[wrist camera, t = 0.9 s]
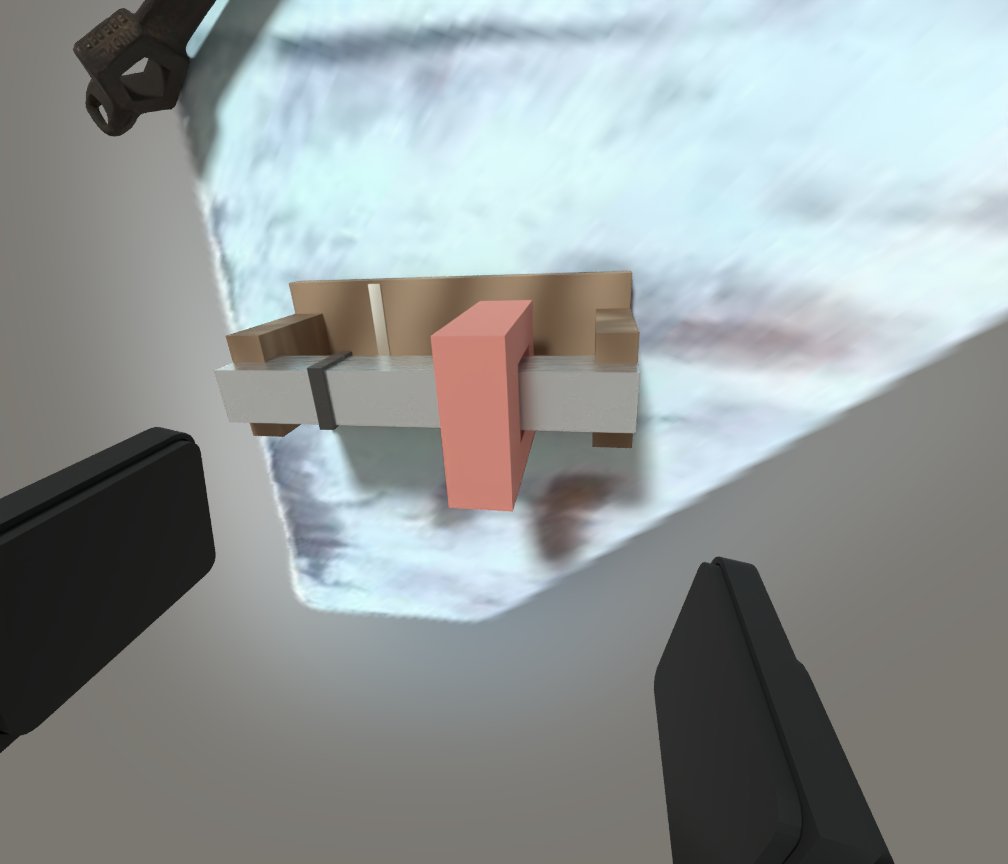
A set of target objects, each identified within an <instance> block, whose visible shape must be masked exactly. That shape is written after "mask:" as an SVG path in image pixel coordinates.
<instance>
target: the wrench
mask: <svg viewBox="0 0 1008 864" xmlns="http://www.w3.org/2000/svg"><path fill="white" fill-rule="evenodd" d="M215 1H216V0H145V1H144V2H143V4H142V5H141V6H140V8H139V9H138V11H137V12H136V13H131V12H130V11H128V10H127V9H125V8H122V9H119V10H118V11H116V12H115V13H113V14H112V15H111V16H110V17H109V18H107V19H105V20H104V21H103V22H101V23H100V24H99V25H97V26H96V27H95V28H94V29H92V30H91V31H90V32H89V33H88V34H86V35H85V36H84V37H83V38H81V39H80V40H79V41H77V42H76V43H75V45H74V48H73V51H74V53H75V55H76V56H77V57H78V59H79V60H80V62H81V63H82V64H83V66H84V68H85V69H86V70H87V72H88V74H89V75H90V77H91V78H92V79H91V81H90V83H89V85H88V88H87V91H86V108H87V111H88V113H89V114H90V116H91V118H92V119H93V121H94V122H95V123H96V124H97V126H98V127H99V128H100V129H101V130H102V131H103V132H104V133H106V134H108V135H109V136H120V135H122V134H124V133H125V132H127V131H128V130H129V129H131V128H132V126H133V125H134V123H135V122H136V120H137V118H138V117H139V116H140V115H141V114H143V113H147V112H153V111H159V110H167V109H172V108H174V107H175V105H176V102H177V100H178V97H179V93H180V89H181V85H182V82H183V80H184V77H185V74H186V71H187V68H188V65H189V63H190V61H189V57H188V56H187V53H186V46H187V43H188V41H189V40H190V38H191V37H192V35H193V34H194V32H195V31H196V29H197V28H198V26H199V25H200V23H201V22H202V20H203V19H204V17H205V16H206V14H207V12H208V11H209V10H210V9H211V7H212V6H213V4H214V3H215ZM144 57H146V58H149V59H148V62H147V65H146V67H145V69H144V72H141V73H134V74H129V75H123V76H121V75H122V74H123V73H124V72H125V71H127V70H128V69H129V68H131V67H132V66H133V65H134V64H135V63H136V62H138V61H140V60H141V59H143V58H144ZM101 104H102V105H103V107H104V109H105V111H106V113H107V116H108V124H107V123H106V122H105V120H104V118H103V117H102V115H101V113H100V111H99V106H100V105H101Z"/></svg>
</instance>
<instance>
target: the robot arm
mask: <svg viewBox="0 0 1008 864" xmlns="http://www.w3.org/2000/svg"><path fill="white" fill-rule="evenodd" d="M214 561H215V547H214V539H213V533H212V526H211V519H210V513H209V505H208V499H207V493H206V485H205V478H204V471H203V465H202V458H201V451H200V448H199V447H198V445H197V444H195V441H194V439H193V438H192V437H191V436H190V435H189V434H186V433H183V432H178V431H174V430H170V429H165V428H161V427H154V428H151V429H148V430H146V431H144V432H141V433H139V434H137V435H135V436H133V437H131V438H129V439H126V440H124V441H122V442H120V443H118V444H116V445H114V446H112V447H110V448H107V449H105V450H103V451H101V452H99V453H97V454H95V455H92V456H90V457H89V458H86V459H84V460H82V461H80V462H77V463H75V464H73V465H71V466H69V467H67V468H65V469H63V470H61V471H59V472H56V473H54V474H52V475H50V476H48V477H46V478H43V479H41V480H39V481H37V482H35V483H33V484H31V485H28V486H26V487H24V488H22V489H20V490H18V491H16V492H14V493H11V494H9V495H7V496H5V497H3V498H1V499H0V753H1V752H2V751H3V750H4V749H6V748H7V747H8V746H9V745H10V744H11V743H12V742H13V741H14V740H15V739H17V738H18V737H19V736H20V735H24V734H27V733H29V732H31V731H33V730H34V729H35V728H37V727H38V726H39V725H40V724H42V723H43V722H44V721H45V720H46V719H47V718H48V717H49V716H50V715H51V714H53V713H54V712H55V711H56V710H57V709H58V708H59V707H60V706H61V705H62V704H64V703H65V702H66V701H67V700H68V699H69V698H70V697H71V696H72V695H74V694H75V693H76V692H77V691H78V690H79V689H80V688H81V687H82V686H83V685H85V684H86V683H87V682H88V681H89V680H90V679H91V678H92V677H93V676H95V675H96V674H97V673H98V672H99V671H100V670H101V669H102V668H103V667H105V666H106V665H107V664H108V663H109V662H110V661H111V660H112V659H113V658H114V657H116V656H117V655H118V654H119V653H120V652H121V651H122V650H123V649H124V648H125V647H127V646H128V645H129V644H130V643H131V642H132V641H133V640H134V639H135V638H137V637H138V636H139V635H140V634H141V633H142V632H143V631H144V630H145V629H146V628H147V627H149V626H150V625H151V624H152V623H153V622H154V621H155V620H156V619H157V618H159V616H161V615H162V614H163V613H164V612H165V611H166V610H167V609H169V608H170V607H171V606H172V605H173V604H174V603H175V602H176V601H177V600H179V599H180V598H181V597H182V596H183V595H184V594H185V593H186V592H187V591H188V590H190V589H191V588H192V587H193V586H194V585H195V584H196V583H197V582H198V581H200V579H202V578H203V577H204V576H205V575H206V574H207V573H208V572H209V571H210V569H211V568H212V566H213V564H214ZM654 694H655V704H656V711H657V712H656V713H657V722H658V730H659V740H660V749H661V758H662V767H663V776H664V785H665V794H666V803H667V812H668V822H669V830H670V840H671V849H672V857H673V864H894V862H893V859H892V857H891V855H890V853H889V851H888V848H887V846H886V844H885V842H884V839H883V837H882V835H881V833H880V830H879V828H878V826H877V824H876V822H875V820H874V818H873V815H872V813H871V811H870V809H869V806H868V804H867V802H866V800H865V797H864V795H863V793H862V791H861V788H860V786H859V784H858V782H857V780H856V778H855V775H854V773H853V771H852V769H851V766H850V764H849V762H848V760H847V758H846V755H845V753H844V751H843V749H842V746H841V744H840V742H839V740H838V738H837V735H836V733H835V731H834V729H833V727H832V724H831V722H830V720H829V718H828V715H827V714H826V711H825V709H824V707H823V704H822V702H821V700H820V698H819V696H818V693H817V691H816V689H815V687H814V684H813V682H812V680H811V678H810V676H809V674H808V672H807V670H806V669H805V667H804V665H803V664H801V663H800V662H799V661H798V660H797V659H796V657H795V654H794V652H793V650H792V648H791V645H790V643H789V641H788V639H787V636H786V634H785V632H784V629H783V627H782V625H781V623H780V620H779V618H778V616H777V613H776V611H775V609H774V607H773V604H772V602H771V600H770V598H769V595H768V593H767V591H766V588H765V586H764V584H763V582H762V579H761V577H760V575H759V573H758V570H757V569H756V567H755V566H754V565H752V564H749V563H745V562H740V561H736V560H731V559H727V558H723V557H715V559H713V561H712V562H711V564H710V563H706V562H703V563H702V564H701V565H700V567H699V568H698V571H697V573H696V576H695V578H694V580H693V583H692V586H691V588H690V590H689V593H688V595H687V597H686V600H685V602H684V605H683V607H682V609H681V612H680V614H679V616H678V619H677V621H676V624H675V626H674V628H673V631H672V633H671V636H670V638H669V640H668V643H667V645H666V648H665V650H664V653H663V655H662V657H661V660H660V662H659V665H658V667H657V670H656V674H655V680H654Z"/></svg>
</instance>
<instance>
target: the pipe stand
mask: <svg viewBox="0 0 1008 864" xmlns="http://www.w3.org/2000/svg"><path fill="white" fill-rule="evenodd" d="M631 285H632V272H631V271H612V272H579V273H546V274H514V275H481V276H448V277H416V278H383V279H350V280H318V281H297V282H292V283H289V286H290V291H291V295H292V300H293V305H294V309H295V314H294V315H290V316H287V317H284V318H281V319H278V320H275V321H272V322H268V323H265V324H262V325H259V326H256V327H253V328H249V329H246V330H243V331H240V332H237V333H234V334H231V335H227V336H226V339H227V342H228V346H229V350H230V353H231V357H232V360H233V363H265V362H268V361H270V360H272V359H275V358H277V357H279V356H331V355H333V354H335V353H337V352H339V351H352V354H353V356H433V355H432V346H431V335H433V334H434V333H436V332H437V331H438V330H440V329H441V328H443V327H444V326H445V325H447V324H448V323H450V322H451V321H453V320H454V319H455V318H457V317H458V316H460V315H461V314H462V313H464V312H465V311H467V310H468V309H469V308H471V307H472V306H474V305H475V304H476V303H478V302H479V301H508V300H533V347H534V356H595V364H637V362H638V348H639V333H640V332H639V330H638V327H637V325H636V322H635V319H634V317H633V314H632V312H631V309H630V302H631ZM250 425H251V428H252V432H253V435H254V436H279V437H284V436H285V435H287V434H288V433H290V432H291V431H292V430H294V429H295V428H297V427H298V426H300V425H301V424H280V423H250ZM632 437H633V433H609V432H593V447H616V448H632Z"/></svg>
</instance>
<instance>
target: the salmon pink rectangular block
mask: <svg viewBox="0 0 1008 864" xmlns="http://www.w3.org/2000/svg"><path fill="white" fill-rule="evenodd" d="M431 346H432V355H433V364H434V373H435V383H436V392H437V401H438V411H439V420H440V429H441V439H442V448H443V457H444V466H445V476H446V485H447V494H448V504H449V508H463V509H480V510H497V511H513V509H514V505H515V502H516V498H517V495H518V491H519V488H520V484H521V480H522V477H523V473H524V470H525V466H526V463H527V459H528V456H529V452H530V449H531V445H532V442H533V438H534V435H535V430H520V410H519V382H518V363H519V362H520V360H521V358H522V356H534V347H533V300H508V301H479V302H478V303H476V304H475V305H474V306H472V307H471V308H469V309H468V310H467V311H465V312H464V313H462V314H461V315H460V316H458V317H457V318H455V319H454V320H453V321H451V322H450V323H448V324H447V325H445V326H444V327H443V328H441V329H440V330H438V331H437V332H436V333H434V334H433V335H431Z"/></svg>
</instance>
